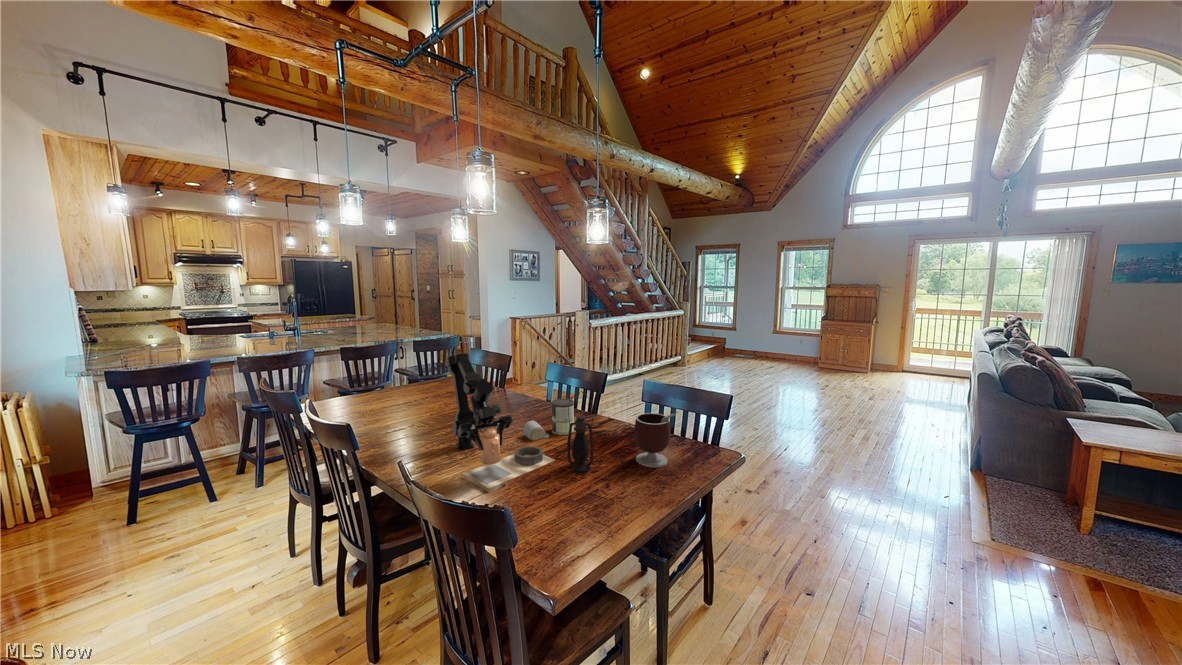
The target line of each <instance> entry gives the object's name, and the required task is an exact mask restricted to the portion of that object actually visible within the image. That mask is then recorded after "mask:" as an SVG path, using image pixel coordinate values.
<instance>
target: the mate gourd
mask: <svg viewBox="0 0 1182 665" xmlns="http://www.w3.org/2000/svg"><path fill="white" fill-rule="evenodd" d="M675 416H676V413H671V414H668V415H665V414H661V413H655V412H654V413H653V412H646V413H645V412H644V413H640V414H637V416H636V418H635V422H634V431H633V433H634V439H635V443H636V444H637V446H638V447H639V449H640V450H642V451H644V452H642V453H639V454H637V455H636V457H635V462H636V463H637V462H638V463H639V465H640V464H641V465H640V466H642V465H643V467H645V466H646V467H647V468H662V467H664V466H666V465H667V464H668V461H669V460H668V458H667V457H666V456H665V455H663V454H660V452H662V451H664V450H665V449H666V448H667V447H668V445H670V444H669V443H670V440H671V435H672V434H671V432H672V431H671V430H672V428H671V421H670V420H671V419H670V418H672V417H675ZM638 463H637V464H638Z"/></svg>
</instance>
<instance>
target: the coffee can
mask: <svg viewBox="0 0 1182 665" xmlns="http://www.w3.org/2000/svg"><path fill="white" fill-rule="evenodd" d="M570 399H571V398H557V399H553V400H552V401H551V426H552V427H551V433H553V434H554V435H557V434H558V436H565V435H567V434H569V426H570V425H569V421H570V424H571V423H574V422H575V410H574V408H575V401H574V400H573V399H571V401H570ZM569 401H570V402H569ZM568 407H569V417H568ZM574 428H575V425H573V426H572V432H573V433H574V432H575V430H574ZM572 432H571V434H572Z"/></svg>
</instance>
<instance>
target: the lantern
mask: <svg viewBox="0 0 1182 665" xmlns="http://www.w3.org/2000/svg"><path fill="white" fill-rule="evenodd" d="M580 393H582V394H583V395H584V396H585V397H587V398H588V399H589V401H590V403H591V408H592V411H594V406H593V405H594V403H593V402H592V400H591V398H590V397H589V396H587V395H586V394H585V393H584V392H583V391H580V390H579V391H578V392H577V393H575V394H574V395H573V396H572V397H570V398H569V399H570V401H571V400H573V399H572V398H574V397H576V396H577V395H578V394H580ZM570 401H569V402H570ZM568 417H569V407H568ZM591 417H592V418H591V422H593V420H594V416H591ZM569 425H570V426H569V434H568V436H567V442H566V443H567V445H566V451H567V452H566V455H567V456H566V458H567V459H566V461H567V462H568V463H569V464H570V468H571V469H572V470H576V471H575V472H574V473H575V475H577V474H579V475H587V474H588V473H590V472H591V471H592V470H591V465H593V464H594V447H595V446H594V440H593V439H594V438H593V437H594V436H593V428H592V427H593V423H591V424H590V423H587V421H586V416H585V415H583V414H582V415H579V414H578V415H577V416H575V419H574V423H571V424H570V421H569ZM573 425H574V432H575V435H574V437H573V439H571V438H572V433H571V432H572V426H573ZM587 427H588V428H587ZM587 430H588V432H589V433H588V434H589V441H588V439H587V435H586V431H587ZM571 440H572V441H571ZM571 442H572V443H571ZM588 442H590V444H589V443H588ZM589 447H590V448H589ZM589 449H590V450H589ZM589 454H590V456H589ZM589 457H590V459H589V461H587V460H588V458H589ZM589 471H590V472H589ZM587 472H588V473H587ZM586 473H587V474H586Z"/></svg>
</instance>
